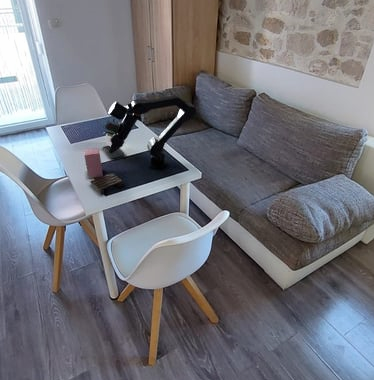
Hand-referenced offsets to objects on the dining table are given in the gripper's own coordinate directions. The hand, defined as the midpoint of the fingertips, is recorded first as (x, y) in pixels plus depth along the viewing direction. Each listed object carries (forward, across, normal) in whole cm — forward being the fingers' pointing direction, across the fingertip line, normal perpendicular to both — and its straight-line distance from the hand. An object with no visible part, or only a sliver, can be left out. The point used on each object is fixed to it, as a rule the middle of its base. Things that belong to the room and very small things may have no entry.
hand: (111, 150), depth 152 cm
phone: (+9, -23, +2) cm, 25 cm away
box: (+16, 0, 0) cm, 16 cm away
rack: (+13, +11, +7) cm, 18 cm away
